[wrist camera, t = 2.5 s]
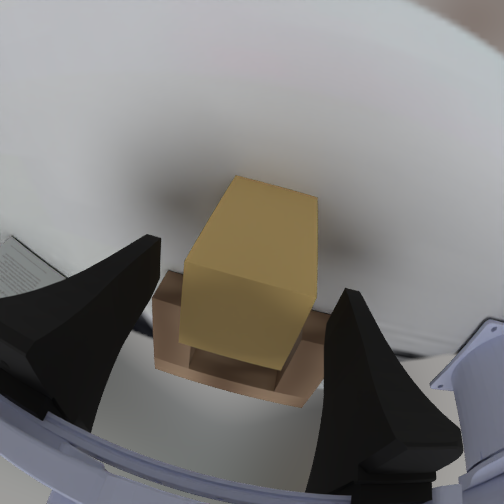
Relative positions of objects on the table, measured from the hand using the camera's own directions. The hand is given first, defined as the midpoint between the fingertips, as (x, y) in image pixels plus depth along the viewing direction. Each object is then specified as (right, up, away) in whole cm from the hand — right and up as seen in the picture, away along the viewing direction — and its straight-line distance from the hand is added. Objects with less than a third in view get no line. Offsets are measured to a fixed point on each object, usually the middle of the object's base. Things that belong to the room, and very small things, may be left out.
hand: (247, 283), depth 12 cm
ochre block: (+1, +3, +4) cm, 5 cm away
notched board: (0, -4, +9) cm, 9 cm away
